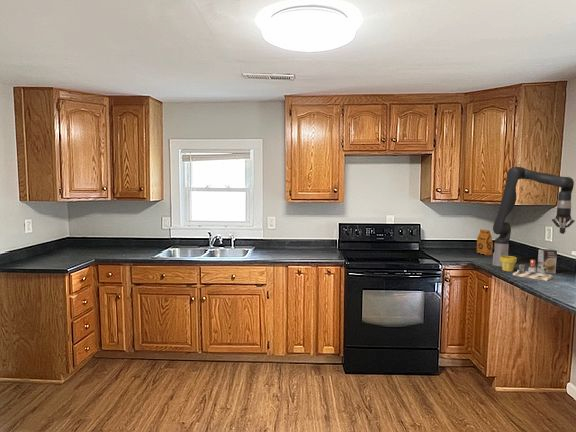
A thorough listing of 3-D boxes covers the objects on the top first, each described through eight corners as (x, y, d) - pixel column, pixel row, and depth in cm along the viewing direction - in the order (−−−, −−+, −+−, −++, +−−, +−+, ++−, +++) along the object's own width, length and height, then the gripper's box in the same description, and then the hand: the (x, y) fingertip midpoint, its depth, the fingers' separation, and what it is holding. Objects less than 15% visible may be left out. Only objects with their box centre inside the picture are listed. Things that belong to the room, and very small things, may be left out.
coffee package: (484, 255, 337) (485, 230, 336) (474, 253, 349) (475, 229, 348) (494, 255, 339) (495, 230, 337) (484, 253, 351) (485, 228, 350)
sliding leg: (526, 273, 258) (526, 260, 258) (530, 272, 264) (530, 259, 263) (531, 274, 256) (532, 261, 255) (535, 273, 261) (536, 259, 260)
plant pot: (516, 272, 270) (517, 258, 270) (499, 271, 275) (500, 257, 275) (515, 270, 279) (516, 256, 279) (499, 268, 284) (500, 255, 284)
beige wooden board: (512, 275, 262) (513, 265, 262) (519, 272, 270) (519, 263, 270) (547, 280, 247) (547, 270, 247) (552, 278, 255) (553, 268, 255)
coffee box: (543, 273, 268) (544, 250, 267) (536, 271, 275) (538, 249, 274) (556, 273, 269) (557, 250, 267) (549, 271, 275) (550, 249, 274)
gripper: (550, 207, 258) (548, 233, 259) (574, 208, 248) (572, 235, 249) (553, 206, 263) (552, 232, 264) (577, 207, 253) (576, 234, 254)
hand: (562, 233), depth 257 cm, fingers closed
